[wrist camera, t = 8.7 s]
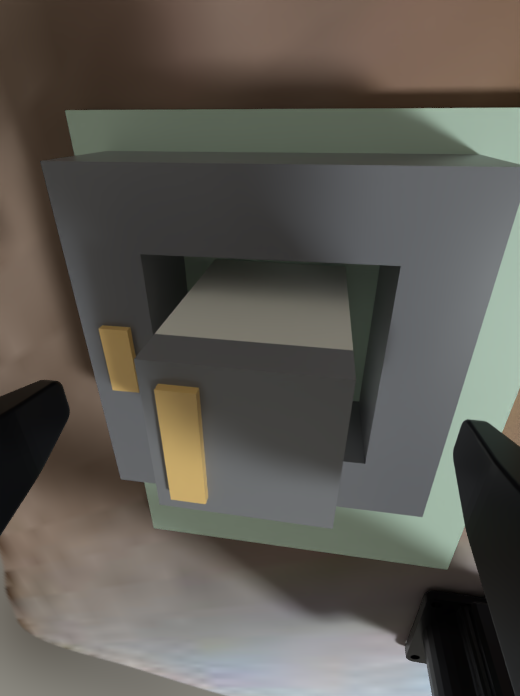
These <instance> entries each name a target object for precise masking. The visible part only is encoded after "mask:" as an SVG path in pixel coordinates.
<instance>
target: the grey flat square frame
mask: <svg viewBox="0 0 520 696" xmlns="http://www.w3.org/2000/svg"><path fill="white" fill-rule="evenodd" d="M40 162H41V166H42V170H43V174H44V178H45V182H46V186H47V190H48V194H49V198H50V202H51V206H52V210H53V214H54V218H55V221H56V225H57V229H58V233H59V237H60V241H61V245H62V249H63V253H64V257H65V261H66V265H67V269H68V273H69V277H70V281H71V285H72V288H73V292H74V296H75V300H76V304H77V308H78V312H79V316H80V320H81V324H82V328H83V332H84V336H85V340H86V344H87V348H88V352H89V356H90V359H91V363H92V367H93V371H94V375H95V379H96V383H97V387H98V391H99V395H100V399H101V403H102V407H103V411H104V415H105V419H106V423H107V427H108V430H109V434H110V438H111V442H112V446H113V450H114V454H115V458H116V462H117V466H118V470H119V474H120V478H121V479H123V480H131V481H139V482H146V483H154V484H156V481H155V476H154V470H153V464H152V459H151V453H150V448H149V442H148V436H147V431H146V425H145V419H144V414H143V408H142V402H141V397H140V391H139V386H138V380H137V374H136V369H135V363H134V358H135V357H136V356H137V355H138V353H139V352H140V351H141V350H142V349H143V347H144V346H145V345H146V344H147V342H148V341H149V340H150V339H151V337H152V336H153V335H154V334H155V333H156V331H157V330H158V329H159V328H160V326H161V325H162V324H163V323H164V322H165V320H166V319H167V318H168V317H169V315H170V314H171V313H172V312H173V311H174V309H175V308H176V307H177V306H178V304H179V303H180V302H181V301H182V299H183V298H184V297H185V296H186V295H187V293H188V291H187V281H186V271H185V261H184V256H189V257H211V258H233V259H256V260H278V261H300V262H322V263H344V264H366V265H380V269H379V275H378V282H377V288H376V295H375V301H374V308H373V314H372V321H371V327H370V334H369V340H368V347H367V354H366V360H365V367H364V373H363V380H362V386H361V393H360V399H359V401H353V402H352V409H351V415H350V421H349V428H348V434H347V441H346V447H345V453H344V460H343V466H342V472H341V479H340V485H339V491H338V498H337V504H336V506H337V507H345V508H353V509H361V510H369V511H377V512H385V513H393V514H400V515H408V516H416V517H423V514H424V511H425V508H426V504H427V501H428V498H429V495H430V491H431V488H432V485H433V482H434V478H435V475H436V472H437V469H438V466H439V462H440V459H441V456H442V453H443V449H444V446H445V443H446V440H447V436H448V433H449V430H450V427H451V423H452V420H453V417H454V414H455V411H456V407H457V404H458V401H459V398H460V394H461V391H462V388H463V385H464V381H465V378H466V375H467V372H468V368H469V365H470V362H471V359H472V356H473V352H474V349H475V346H476V343H477V339H478V336H479V333H480V330H481V326H482V323H483V320H484V317H485V314H486V310H487V307H488V304H489V301H490V297H491V294H492V291H493V288H494V284H495V281H496V278H497V275H498V271H499V268H500V265H501V262H502V259H503V255H504V252H505V249H506V246H507V242H508V239H509V236H510V233H511V229H512V226H513V223H514V220H515V217H516V213H517V210H518V207H519V204H520V164H516V163H512V162H508V161H504V160H500V159H496V158H492V157H488V156H484V155H480V154H387V153H276V152H164V151H103V152H96V153H89V154H83V155H76V156H70V157H63V158H56V159H50V160H43V161H40Z"/></svg>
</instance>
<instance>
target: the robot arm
mask: <svg viewBox="0 0 520 696" xmlns="http://www.w3.org/2000/svg"><path fill="white" fill-rule="evenodd" d="M69 413H70V410H69V405H68V402H67V399H66V395H65V392H64V389H63V386H62V384H61V383H60V382H58V381H52V380H40V381H37V382H35V383H32V384H30V385H27V386H25V387H23V388H20V389H18V390H15V391H13V392H10V393H8V394H6V395H3V396H1V397H0V535H1V534H2V532H3V531H4V529H5V528H6V526H7V524H8V523H9V521H10V520H11V518H12V517H13V515H14V514H15V512H16V510H17V509H18V507H19V506H20V504H21V503H22V501H23V500H24V498H25V497H26V495H27V493H28V492H29V490H30V489H31V487H32V486H33V484H34V482H35V481H36V479H37V478H38V476H39V474H40V472H41V471H42V469H43V467H44V465H45V463H46V461H47V459H48V457H49V455H50V453H51V451H52V450H53V448H54V446H55V444H56V442H57V440H58V438H59V436H60V434H61V432H62V430H63V428H64V426H65V424H66V422H67V420H68V418H69ZM453 462H454V467H455V473H456V479H457V485H458V490H459V496H460V502H461V507H462V513H463V518H464V523H465V528H466V532H467V536H468V539H469V543H470V546H471V550H472V553H473V556H474V560H475V563H476V566H477V570H478V573H479V576H480V580H481V583H482V586H483V590H484V593H485V596H486V598H480V597H473V596H467V595H460V594H453V593H447V592H440V591H429V592H427V593H426V594H425V595H424V597H423V600H422V603H421V606H420V608H419V611H418V614H417V616H416V619H415V622H414V625H413V627H412V630H411V633H410V635H409V638H408V641H407V644H406V646H405V653H406V658H407V659H408V660H410V661H414V662H419V663H425V664H427V669H428V674H429V680H430V686H431V692H432V696H520V446H518V445H517V444H516V443H514V442H513V441H512V440H510V439H509V438H508V437H507V436H505V435H504V434H503V433H501V432H500V431H499V430H497V429H496V428H495V427H494V426H492V425H491V424H490V423H488V422H486V421H482V420H471V419H467V420H465V421H463V423H462V425H461V427H460V430H459V433H458V437H457V440H456V443H455V446H454V449H453Z"/></svg>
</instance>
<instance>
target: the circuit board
mask: <svg viewBox="0 0 520 696" xmlns="http://www.w3.org/2000/svg"><path fill="white" fill-rule="evenodd" d="M65 113H66V118H67V122H68V127H69V132H70V137H71V141H72V146H73V151H74V155H75V156H76V155H83V154H89V153H96V152H103V151H164V152H276V153H387V154H480V155H484V156H488V157H492V158H496V159H500V160H504V161H508V162H512V163H516V164H520V108H363V109H189V110H65ZM215 259H219V260H237V261H254V262H272V263H289V264H307V265H324V266H342V267H346V278H347V289H348V299H349V310H350V321H351V331H352V342H353V353H354V363H355V374H356V383H355V390H354V396H353V401H359V399H360V393H361V386H362V380H363V373H364V367H365V360H366V354H367V347H368V340H369V334H370V327H371V321H372V314H373V308H374V301H375V295H376V288H377V282H378V275H379V269H380V265H366V264H344V263H322V262H300V261H278V260H256V259H233V258H211V257H189V256H184V261H185V271H186V281H187V291H188V292H189V291H190V290H191V288H192V287H193V286H194V285H195V284H196V282H197V281H198V280H199V279H200V277H201V276H202V275H203V274H204V273H205V271H206V270H207V269H208V268H209V266H210V265H211V264H212V263H213V261H214V260H215ZM519 388H520V204H519V207H518V210H517V213H516V217H515V220H514V223H513V226H512V229H511V233H510V236H509V239H508V242H507V246H506V249H505V252H504V255H503V259H502V262H501V265H500V268H499V271H498V275H497V278H496V281H495V284H494V288H493V291H492V294H491V297H490V301H489V304H488V307H487V310H486V314H485V317H484V320H483V323H482V326H481V330H480V333H479V336H478V339H477V343H476V346H475V349H474V352H473V356H472V359H471V362H470V365H469V368H468V372H467V375H466V378H465V381H464V385H463V388H462V391H461V394H460V398H459V401H458V404H457V407H456V411H455V414H454V417H453V420H452V423H451V427H450V430H449V433H448V436H447V440H446V443H445V446H444V449H443V453H442V456H441V459H440V462H439V466H438V469H437V472H436V475H435V478H434V482H433V485H432V488H431V491H430V495H429V498H428V501H427V504H426V508H425V511H424V514H423V517H416V516H408V515H400V514H393V513H385V512H377V511H369V510H361V509H353V508H345V507H337V506H336V511H335V517H334V523H333V529H330V528H322V527H315V526H308V525H301V524H294V523H287V522H280V521H273V520H266V519H258V518H251V517H244V516H237V515H230V514H223V513H216V512H209V511H202V510H194V509H187V508H180V507H173V506H166V505H160V504H159V498H158V493H157V487H156V484H154V483H146V482H144V484H145V489H146V493H147V498H148V503H149V507H150V512H151V517H152V522H153V526H154V528H156V529H163V530H170V531H178V532H185V533H192V534H199V535H206V536H213V537H220V538H227V539H234V540H241V541H248V542H255V543H262V544H269V545H276V546H283V547H290V548H297V549H305V550H312V551H319V552H326V553H333V554H340V555H347V556H354V557H361V558H368V559H375V560H382V561H389V562H396V563H403V564H410V565H417V566H424V567H431V568H439V569H446V570H447V569H448V567H449V564H450V562H451V559H452V557H453V554H454V552H455V549H456V547H457V544H458V542H459V539H460V537H461V534H462V532H463V529H464V527H465V523H464V518H463V513H462V507H461V502H460V496H459V490H458V485H457V479H456V473H455V467H454V462H453V449H454V446H455V443H456V440H457V437H458V433H459V430H460V427H461V425H462V423H463V421H465V420H467V419H471V420H482V421H486V422H488V423H490V424H491V425H492V426H494V427H495V428H496V429H497V430H499V431H500V432H501V433H502V431H503V428H504V426H505V423H506V421H507V418H508V416H509V413H510V411H511V408H512V406H513V403H514V401H515V398H516V396H517V393H518V391H519Z"/></svg>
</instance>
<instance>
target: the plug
mask: <svg viewBox="0 0 520 696" xmlns="http://www.w3.org/2000/svg"><path fill="white" fill-rule="evenodd" d="M134 363H135V369H136V374H137V380H138V386H139V391H140V397H141V402H142V408H143V414H144V419H145V425H146V431H147V436H148V442H149V448H150V453H151V459H152V464H153V470H154V476H155V481H156V487H157V493H158V498H159V504H160V505H166V506H173V507H180V508H187V509H194V510H202V511H209V512H216V513H223V514H230V515H237V516H244V517H251V518H258V519H266V520H273V521H280V522H287V523H294V524H301V525H308V526H315V527H322V528H330V529H333V523H334V517H335V511H336V504H337V498H338V491H339V485H340V479H341V472H342V466H343V460H344V453H345V447H346V441H347V434H348V428H349V421H350V415H351V409H352V402H353V396H354V390H355V383H356V374H355V363H354V353H353V342H352V331H351V321H350V310H349V299H348V289H347V278H346V267H342V266H324V265H307V264H289V263H272V262H254V261H237V260H219V259H215V260H214V261H213V263H212V264H211V265H210V266H209V268H208V269H207V270H206V271H205V273H204V274H203V275H202V276H201V277H200V279H199V280H198V281H197V282H196V284H195V285H194V286H193V287H192V288H191V290H190V291H189V292H188V293H187V295H186V296H185V297H184V298H183V299H182V301H181V302H180V303H179V304H178V306H177V307H176V308H175V309H174V311H173V312H172V313H171V314H170V315H169V317H168V318H167V319H166V320H165V322H164V323H163V324H162V325H161V326H160V328H159V329H158V330H157V331H156V333H155V334H154V335H153V336H152V337H151V339H150V340H149V341H148V342H147V344H146V345H145V346H144V347H143V349H142V350H141V351H140V352H139V353H138V355H137V356H136V357H135V358H134Z"/></svg>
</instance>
